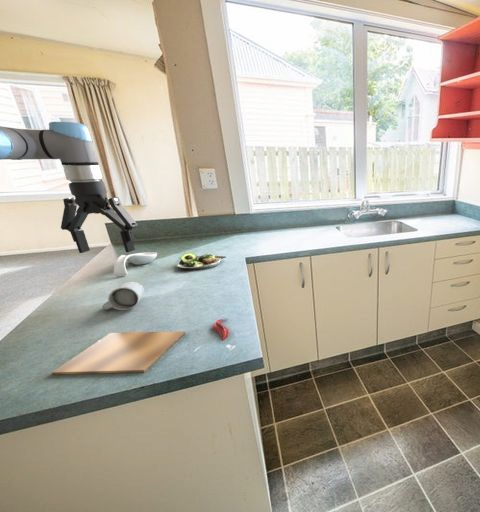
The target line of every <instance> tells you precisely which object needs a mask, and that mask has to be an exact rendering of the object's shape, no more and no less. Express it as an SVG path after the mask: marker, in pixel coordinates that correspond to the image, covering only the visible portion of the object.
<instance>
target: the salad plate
mask: <svg viewBox="0 0 480 512" xmlns="http://www.w3.org/2000/svg"><path fill="white" fill-rule="evenodd" d="M227 257H228V256H226V255H217V254H212V253H209V254H208V253H205V254H202V255H197V254H195V253H193V252H186V253H184V254H182V255H181V256H180V259H179V260H180V261H179V262H178V263H177V264H178V265H177V269H179V270H181V271H182V272H183V271H185V272H186V271H195V270H196V271H197V270H203V269H208V268H213V267H215V266H218V265H219V264H220V263H221V261H222V260H223V259H226V258H227Z"/></svg>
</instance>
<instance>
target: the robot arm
mask: <svg viewBox="0 0 480 512" xmlns="http://www.w3.org/2000/svg"><path fill="white" fill-rule="evenodd" d="M95 149H96V148H95V146H94V141H93V139H92V137H91V133H90V131H89V128H88V127H87V125H85V124H83V123H81V122H80V123H79V122H74V121H73V122H71V121H50V122H48V129H33V128H32V129H29V128H28V129H27V128H17V127H16V128H15V127H7V126H0V160H12V161H16V160H17V161H21V160H59V161H60V163H61V166H62V169H63V173H64V176H65V179H66V181H70V182H68V183H67V185H68V188H69V191H70V194H71V195H72V196H74V197H66V198H63V199H62V200H63V206H64V207H63V213H62V217H61V223H60V229H61V230H62V231H68V232H69V233H70V235H71V238H72V240H73V242H74V243H75V244H76V247H77V250H78V253H79V254H84V253H86V252H90V251H91V249H90V246H89V242H88V240H87V237H86V234H85V231H84V229H82V226H83V224H84V223H85V221H86V220H87V218H88V216H89V215H91V214H95V215H97V214H100V215H102V216H105V217H106V218H107V219H108V220H109V221H111V222H112V223H113V224H114V225H115V226H117V227H118V228H119V229H120V231H119V233H120V235H121V240H122V244H123V247H124V251H125V253H131V252H133V251H135V250H136V247H135V245H134V241H135V236H134V233H133V230H134V229H136V228H138V227H139V224H138V223H137V222H136V221H135V219H134V218H133V216H132V215H131V214H130V213H129V212H128V210H127V209H126V207H124V206H123V204H122V202H121V199H120V198H119V197H117V196H115V197H109V198H108V197H107V193H108V191H107V188H106V184H105V182H104V181H102V180H103V179H104V177H103V174H102V171H101V169H100V164H99V161H98V157H97V154H96V150H95Z"/></svg>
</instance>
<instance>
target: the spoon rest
mask: <svg viewBox="0 0 480 512" xmlns="http://www.w3.org/2000/svg"><path fill="white" fill-rule="evenodd" d="M157 256H158V252H156V251H147V252H139V253H132V254H128V255H127V254H126V255H125V254H121V255H120V256H118V257H117V258H116V261H115V263H114V266H113V276H114V277H119V276H120V277H121V276H128V274H129V273H128V270H127V268H126V263H127V262H129V263H131V264H133V265H135V266H140V265H141V266H142V265H147V264H149V263H151V262H153V261H154V260H155V259H156V258H157Z"/></svg>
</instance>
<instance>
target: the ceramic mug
mask: <svg viewBox="0 0 480 512" xmlns="http://www.w3.org/2000/svg"><path fill="white" fill-rule="evenodd" d="M144 295H145V289H144V287H143V286H142V285H141V284H140V283H139V282H136V281H126V282H122V283H121V284H119V285H118V286H117V287H115V288H114V289H113V290H112V291H111V292H110V293H109V294H108V297H107V302H105V303H104V304H103V305H102V306H101V307H102V308H103V309H104V310H105V311H107V310H110V309H112V308H114V309H115V310H119V311H129V310H131V309H134V308H135V307H136V306H137V305H138V304H139V303H140V301H141V300H142V298H143V297H144Z"/></svg>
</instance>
